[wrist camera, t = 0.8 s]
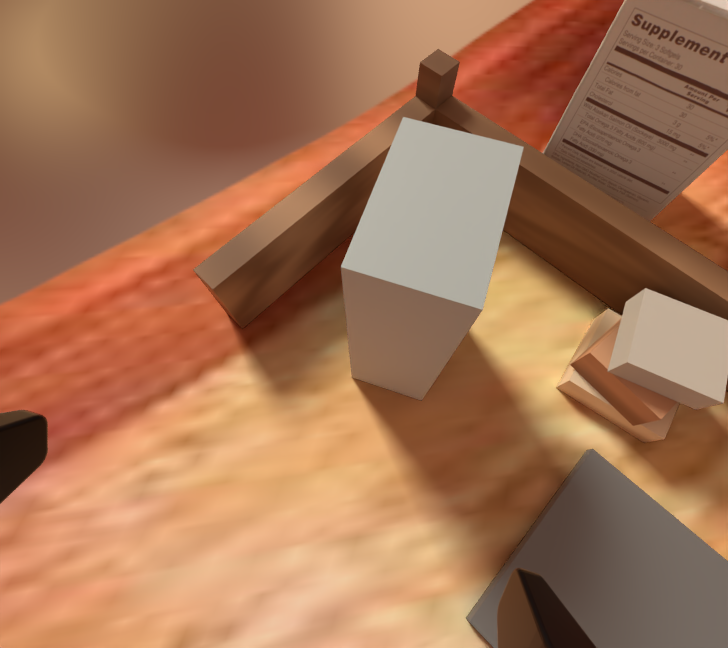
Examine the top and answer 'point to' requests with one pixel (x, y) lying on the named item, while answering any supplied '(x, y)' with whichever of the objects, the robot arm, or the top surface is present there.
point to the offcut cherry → (619, 383)
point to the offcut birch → (595, 401)
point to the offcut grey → (672, 350)
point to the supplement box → (650, 104)
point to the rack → (523, 222)
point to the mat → (619, 566)
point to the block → (424, 253)
